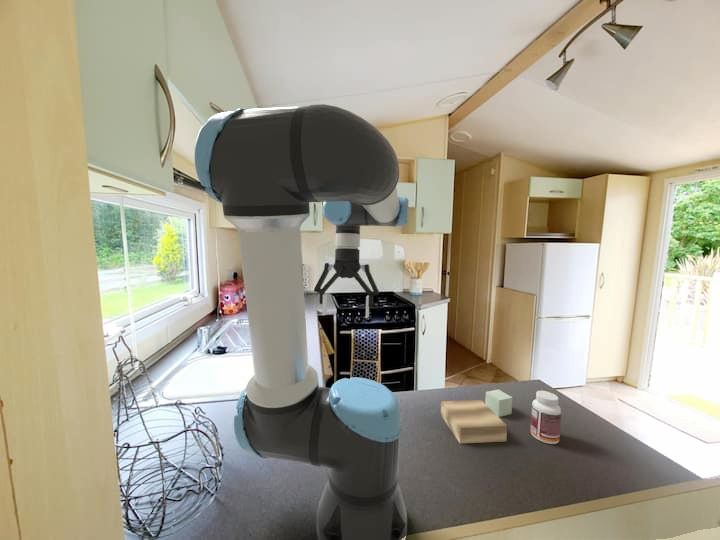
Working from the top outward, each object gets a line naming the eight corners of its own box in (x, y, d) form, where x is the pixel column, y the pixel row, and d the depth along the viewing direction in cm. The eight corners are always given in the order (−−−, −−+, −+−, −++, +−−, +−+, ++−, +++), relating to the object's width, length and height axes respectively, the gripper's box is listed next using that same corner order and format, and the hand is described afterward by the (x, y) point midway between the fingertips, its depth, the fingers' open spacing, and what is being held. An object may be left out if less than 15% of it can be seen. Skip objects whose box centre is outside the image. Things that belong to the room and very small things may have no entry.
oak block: (506, 441, 69) (507, 425, 69) (459, 443, 68) (460, 427, 68) (480, 413, 81) (481, 399, 81) (440, 414, 80) (441, 401, 80)
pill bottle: (563, 439, 71) (567, 397, 70) (552, 448, 67) (556, 404, 66) (537, 426, 76) (540, 387, 75) (525, 434, 72) (528, 392, 72)
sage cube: (511, 414, 81) (512, 397, 81) (498, 417, 80) (499, 400, 79) (497, 405, 86) (498, 389, 86) (484, 408, 84) (485, 391, 84)
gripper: (388, 249, 89) (385, 315, 90) (312, 247, 92) (310, 310, 94) (387, 248, 82) (384, 320, 83) (304, 246, 85) (303, 315, 86)
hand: (345, 315), depth 88 cm, fingers open, 13 cm apart
